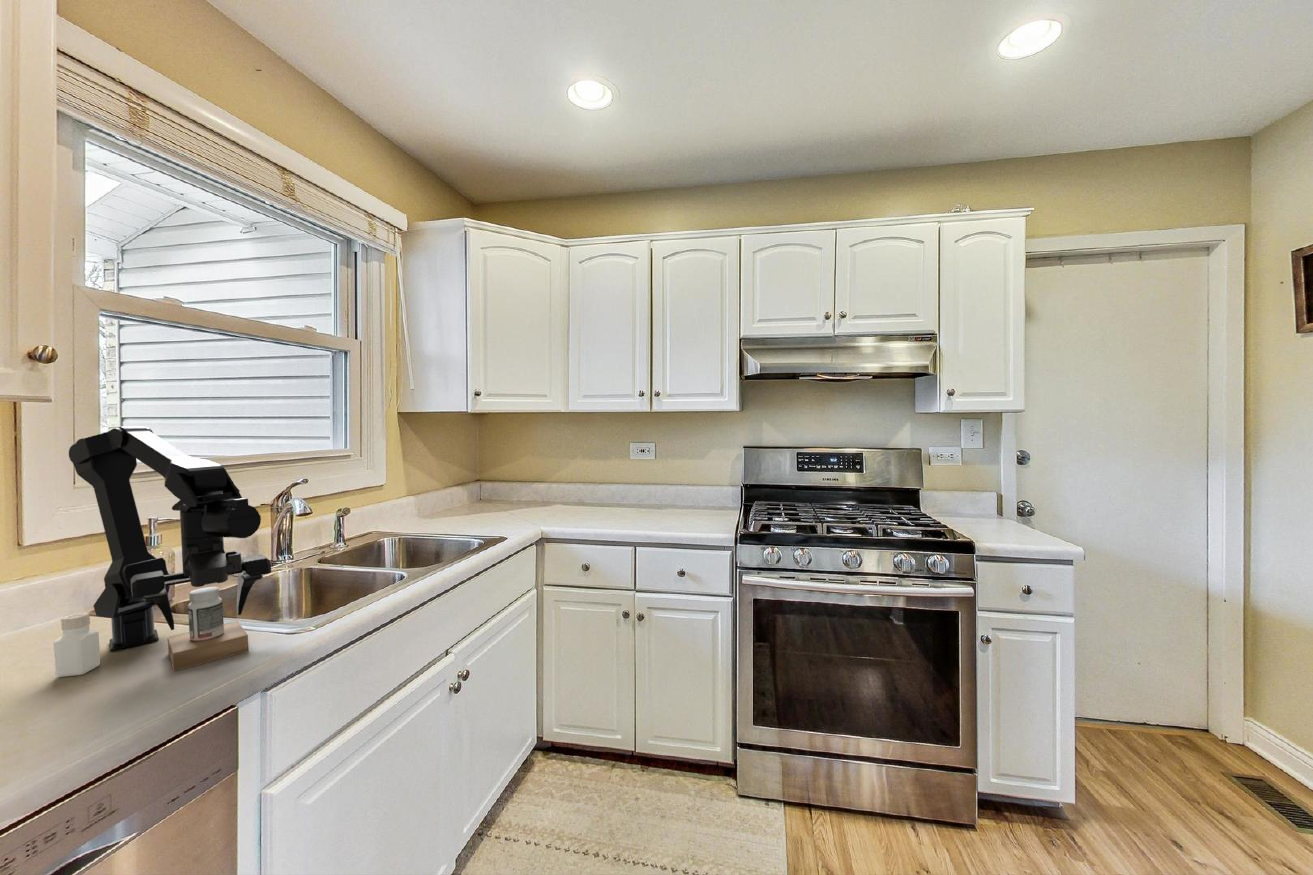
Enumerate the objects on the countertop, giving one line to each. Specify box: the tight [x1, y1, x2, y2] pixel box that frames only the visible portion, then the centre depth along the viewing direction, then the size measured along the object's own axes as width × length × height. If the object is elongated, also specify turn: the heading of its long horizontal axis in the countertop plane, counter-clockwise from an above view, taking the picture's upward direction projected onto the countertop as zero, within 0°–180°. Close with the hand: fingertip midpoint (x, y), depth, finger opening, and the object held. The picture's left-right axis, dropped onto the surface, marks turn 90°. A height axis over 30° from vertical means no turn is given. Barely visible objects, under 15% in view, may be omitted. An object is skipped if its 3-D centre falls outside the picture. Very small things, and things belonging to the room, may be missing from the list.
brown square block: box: [167, 620, 250, 672], centre depth 96 cm, size 10×10×3 cm
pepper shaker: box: [53, 612, 101, 678], centre depth 89 cm, size 4×4×10 cm
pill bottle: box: [187, 586, 225, 641], centre depth 96 cm, size 5×5×8 cm
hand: (206, 621), depth 96 cm, fingers open, 9 cm apart
